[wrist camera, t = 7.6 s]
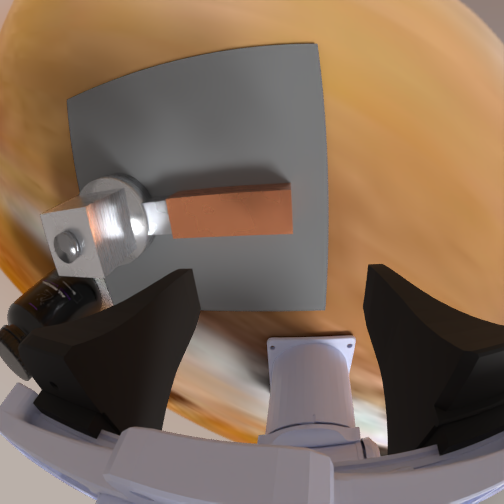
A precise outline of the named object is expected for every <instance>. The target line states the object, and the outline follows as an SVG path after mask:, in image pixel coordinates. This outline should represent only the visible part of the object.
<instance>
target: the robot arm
mask: <svg viewBox="0 0 504 504" xmlns="http://www.w3.org/2000/svg"><path fill="white" fill-rule="evenodd" d="M363 309H364V315H365V320H366V326H367V329H368V332H369V335H370V339H371V342H372V345H373V348H374V351H375V354H376V358H377V361H378V364H379V368H380V372H381V376H382V381H383V388H384V395H385V404H386V414H387V431H388V455H387V456H380V452H379V448H378V446H377V444H376V443H375V442H373V441H372V440H371V439H370V438H369V437H367V438H361V439H360V429H359V427H355V418H354V409H353V401H352V394H351V387H350V380H349V372H350V367H351V362H352V358H353V353H354V347H355V342H356V339H355V337H354V336H353V335H347V336H326V337H272V338H269V339H268V340H267V352H268V364H269V377H270V389H271V391H270V400H269V409H268V417H267V425H266V433H265V435H259V437H258V443H257V444H250V443H238V442H228V441H219V440H212V439H205V438H198V437H192V436H186V435H181V434H176V433H171V432H166V431H162V426H163V421H164V416H165V411H166V407H167V403H168V399H169V395H170V391H171V388H172V384H173V381H174V378H175V374H176V372H177V369H178V367H179V364H180V362H181V360H182V358H183V355H184V353H185V351H186V349H187V346H188V344H189V342H190V340H191V337H192V335H193V333H194V330H195V328H196V325H197V322H198V318H199V314H200V310H201V306H200V302H199V298H198V293H197V289H196V284H195V279H194V274H193V270H192V269H177V270H175V271H173V272H171V273H169V274H168V275H166V276H164V277H163V278H161V279H160V280H158V281H156V282H155V283H153V284H151V285H150V286H148V287H147V288H145V289H143V290H142V291H140V292H138V293H136V294H135V295H133V296H131V297H129V298H128V299H126V300H124V301H122V302H120V303H118V304H116V305H114V306H112V307H110V308H107V309H105V310H103V311H100V312H97V313H95V314H92V315H89V316H87V317H84V318H81V319H77V320H74V321H70V322H66V323H62V324H58V325H52V326H47V327H41V328H35V329H34V330H32V331H31V332H30V333H29V334H28V335H27V337H26V338H25V339H24V340H23V341H22V342H21V343H20V344H19V347H18V351H19V355H20V358H21V360H22V362H23V364H24V365H25V367H26V368H27V370H28V371H29V373H30V374H31V376H32V377H33V378H34V380H35V381H36V382H37V384H38V385H39V386H40V388H41V389H42V391H41V392H40V394H39V395H38V394H37V393H36V392H35V391H33V390H32V389H30V388H28V387H26V386H24V385H23V384H21V383H17V384H16V385H15V386H14V388H13V389H12V390H11V392H10V393H9V395H8V396H7V397H6V399H5V400H4V402H3V403H2V404H1V406H0V434H1V435H2V436H3V437H4V438H5V439H6V440H8V441H9V442H10V443H11V444H12V445H13V446H14V447H15V448H17V449H18V450H19V451H20V452H21V453H22V454H24V455H25V456H26V457H27V458H28V459H30V460H31V461H33V462H34V463H35V464H37V465H38V466H40V467H41V468H43V469H44V470H46V471H47V472H48V473H50V474H52V475H53V476H55V477H56V478H58V479H59V480H61V481H63V482H65V483H66V484H68V485H69V486H71V487H73V488H74V489H76V490H78V491H80V492H81V493H83V494H85V495H87V496H89V497H91V498H93V499H95V500H97V501H96V504H477V503H479V502H481V501H483V500H485V499H487V498H489V497H491V496H492V495H494V494H496V493H498V492H500V491H501V490H503V489H504V326H503V325H498V324H495V323H491V322H488V321H485V320H481V319H478V318H476V317H473V316H470V315H468V314H465V313H463V312H460V311H458V310H456V309H454V308H452V307H450V306H448V305H446V304H444V303H442V302H440V301H438V300H436V299H435V298H433V297H431V296H430V295H428V294H427V293H425V292H423V291H422V290H420V289H419V288H417V287H416V286H414V285H413V284H411V283H410V282H409V281H407V280H406V279H404V278H403V277H401V276H400V275H399V274H397V273H396V272H394V271H393V270H391V269H390V268H388V267H387V266H385V265H383V264H370V265H368V272H367V281H366V289H365V296H364V303H363ZM348 344H350V345H348ZM271 346H274V347H271Z"/></svg>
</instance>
